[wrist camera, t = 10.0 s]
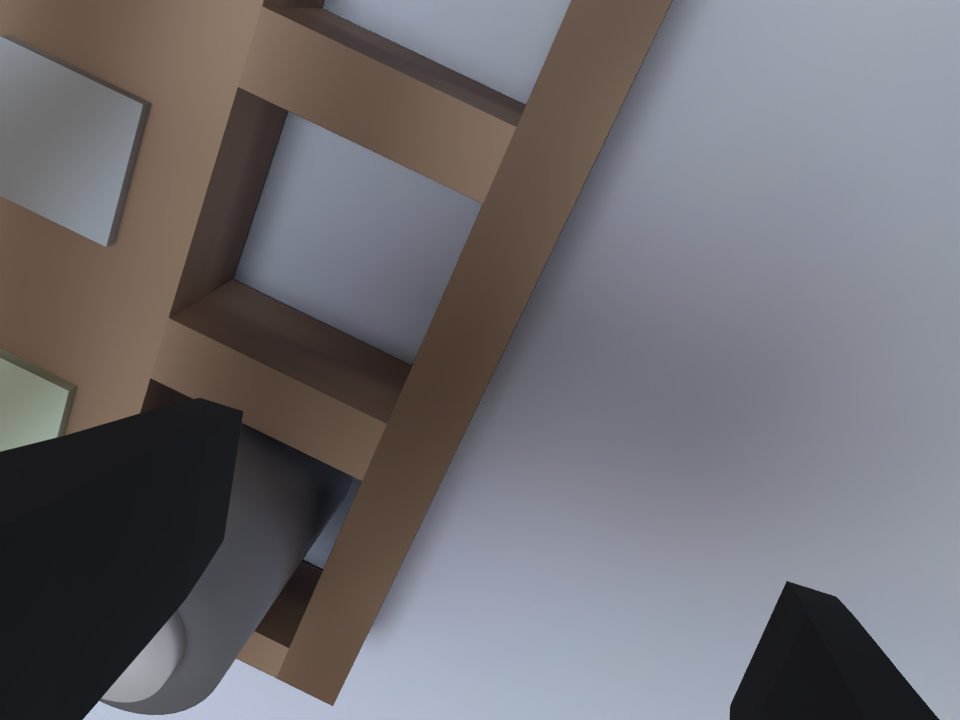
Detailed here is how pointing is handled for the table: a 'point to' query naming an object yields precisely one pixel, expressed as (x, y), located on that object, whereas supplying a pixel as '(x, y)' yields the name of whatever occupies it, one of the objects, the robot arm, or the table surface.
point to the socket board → (224, 228)
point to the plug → (235, 575)
